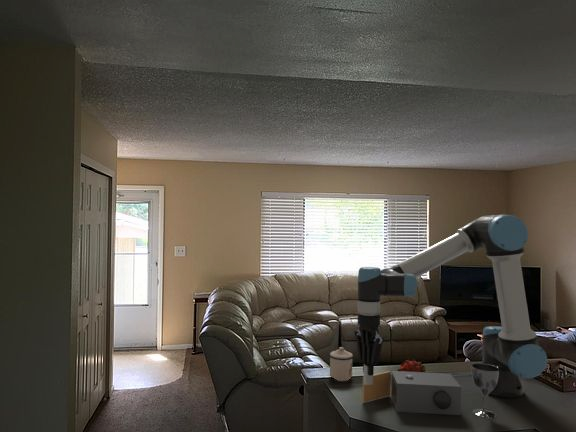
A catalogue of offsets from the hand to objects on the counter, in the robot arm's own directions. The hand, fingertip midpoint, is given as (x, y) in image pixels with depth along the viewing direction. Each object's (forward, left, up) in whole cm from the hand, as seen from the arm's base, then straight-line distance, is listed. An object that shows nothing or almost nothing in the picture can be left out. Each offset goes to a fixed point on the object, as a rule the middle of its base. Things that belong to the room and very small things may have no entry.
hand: (368, 384), depth 146 cm
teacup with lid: (+8, -25, -7) cm, 27 cm away
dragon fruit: (-19, -24, -7) cm, 31 cm away
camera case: (-19, -1, -6) cm, 20 cm away
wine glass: (-37, +3, -7) cm, 37 cm away
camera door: (-3, -4, -6) cm, 8 cm away
